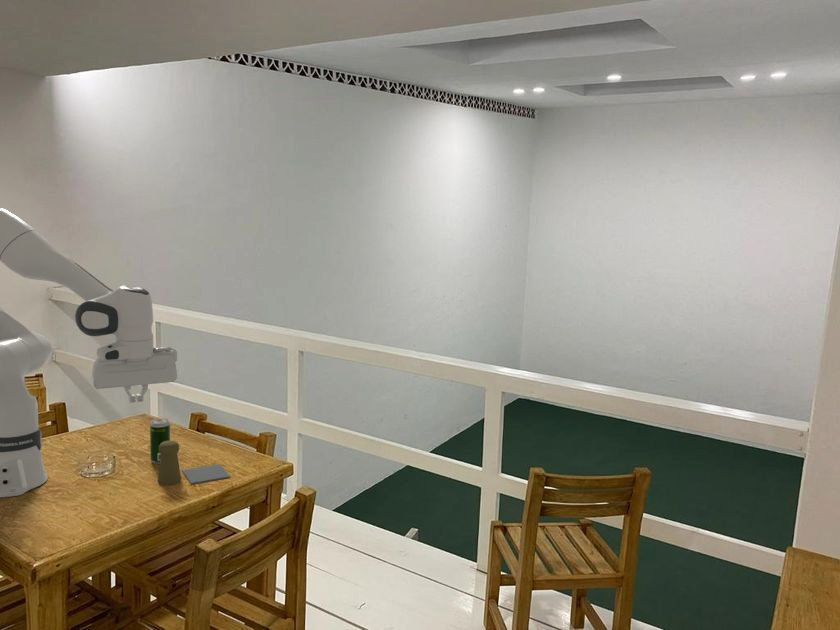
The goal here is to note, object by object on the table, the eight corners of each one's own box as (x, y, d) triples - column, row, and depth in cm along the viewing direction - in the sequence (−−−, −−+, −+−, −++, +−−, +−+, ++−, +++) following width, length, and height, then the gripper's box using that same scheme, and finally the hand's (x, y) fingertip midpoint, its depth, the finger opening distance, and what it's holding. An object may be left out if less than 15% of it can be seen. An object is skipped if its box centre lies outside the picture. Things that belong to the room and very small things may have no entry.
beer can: (173, 461, 195) (172, 422, 193) (154, 465, 191) (153, 425, 190) (166, 456, 199) (166, 417, 197) (148, 459, 195) (147, 420, 194)
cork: (177, 474, 185) (177, 436, 184) (184, 482, 180) (183, 443, 179) (154, 479, 182) (154, 440, 180) (160, 486, 177) (160, 447, 175)
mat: (191, 484, 179) (191, 482, 179) (182, 471, 188) (182, 470, 188) (230, 477, 185) (230, 476, 185) (219, 465, 193) (219, 464, 193)
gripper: (174, 344, 180) (174, 394, 182) (89, 349, 169) (91, 402, 171) (179, 348, 174) (180, 400, 176) (93, 354, 163) (94, 409, 165)
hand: (136, 401), depth 173 cm, fingers closed
